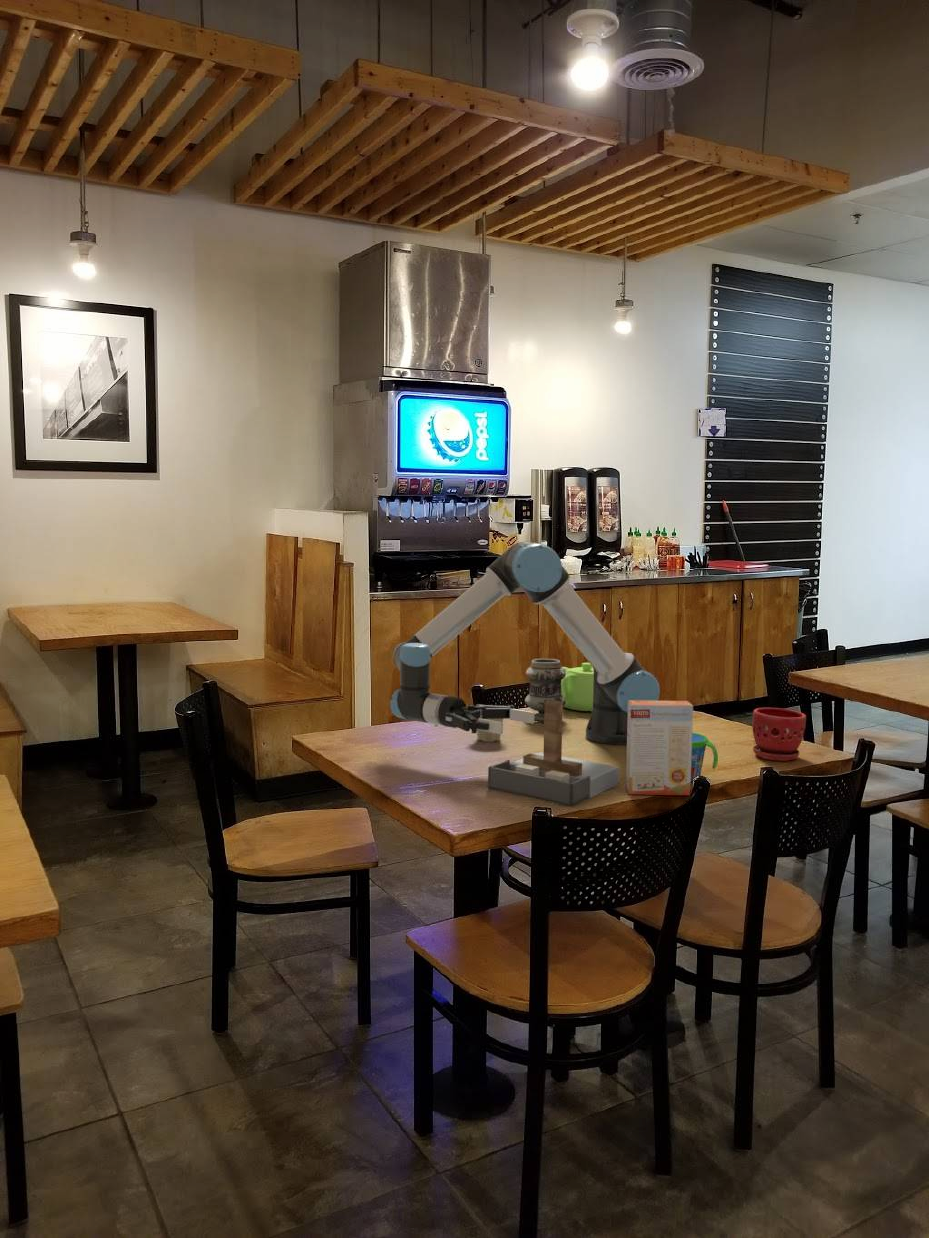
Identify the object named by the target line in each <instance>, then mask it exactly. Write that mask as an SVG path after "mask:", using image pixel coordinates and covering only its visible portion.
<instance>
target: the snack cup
mask: <svg viewBox="0 0 929 1238" xmlns="http://www.w3.org/2000/svg"><path fill="white" fill-rule="evenodd" d="M706 747H709V748H711V750H712V754H713V760H712V761H713V762H712V770H715V769H716V768H717V765H718V762H719V756H718V755H719V754H718V751H717V748H716V746H715V744H713V742H711V741H710V740H709V739H708V737H707V736H706V735H703V734H701V733H698V732H697V733H696V732H692V756H691V782H694V781H693V779H694V778H695V777H697V776H700V777H701V775H702V768H703V764H704V759H705V752H706Z"/></svg>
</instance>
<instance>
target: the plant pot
mask: <svg viewBox="0 0 929 1238" xmlns="http://www.w3.org/2000/svg"><path fill="white" fill-rule="evenodd" d="M751 722H752V723H751V724H752V725H751V726H752V735H753V739H754V741H755V744H756V745H754V746H753V747H752V751H753V752H754V754H755V755H756V756H758V757H760V758H762V759H763V760H771V761H781V762H784V761H785V762H787V761H791V760H795V759H797V758H798V757H799V755H800V750H798V748H799V747H800V746H801V743H802V742H803V738H804V734H805V729H806V723H807V715H806V714H805V713H803V712H800V711H797V710H793V709H792V710H791V709H787V708H779V707H757V708H755V709H754V710H753V712H752V721H751ZM766 726H767V728H768V729H766ZM787 729H788V731H787Z"/></svg>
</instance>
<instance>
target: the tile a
mask: <svg viewBox="0 0 929 1238" xmlns="http://www.w3.org/2000/svg"><path fill="white" fill-rule="evenodd" d="M515 772H519V773H524V774H529V775H534V776H539V767H537V766H532V765H527V764H520V765H518V766H516V770H515Z"/></svg>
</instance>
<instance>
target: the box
mask: <svg viewBox="0 0 929 1238" xmlns="http://www.w3.org/2000/svg"><path fill="white" fill-rule="evenodd" d="M510 763H511V760H510V759H507V760H503V761H501V762H498V763H496V764H493V765H490V766H488V768H487V769H488V772H487V778H488V779H487V787H488V788H487V789H489V790H494V791H498V792H502V791H503V793H507V794H508V793H509V794H511V793H512V794H511V795H515V796H520V797H521V796H522V797H525V798H531V799H535V800H539V801H543V800H544V801H545V802H549V803H552V802H554V804H557V803H558V805H561V804H562V805H561V806H567V807H574V806H577V805H579V804H580V803H583V802H584V800H585V801H587V800H588V799H590V776H586V777H584V778H582V779H579V780H577V781H575V782H573V783H568V782H563V781H558V780H553V779H548V778H543V777H539V776H534V775H529V774H524V773H519V772H514V771H510ZM582 801H583V802H582Z"/></svg>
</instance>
